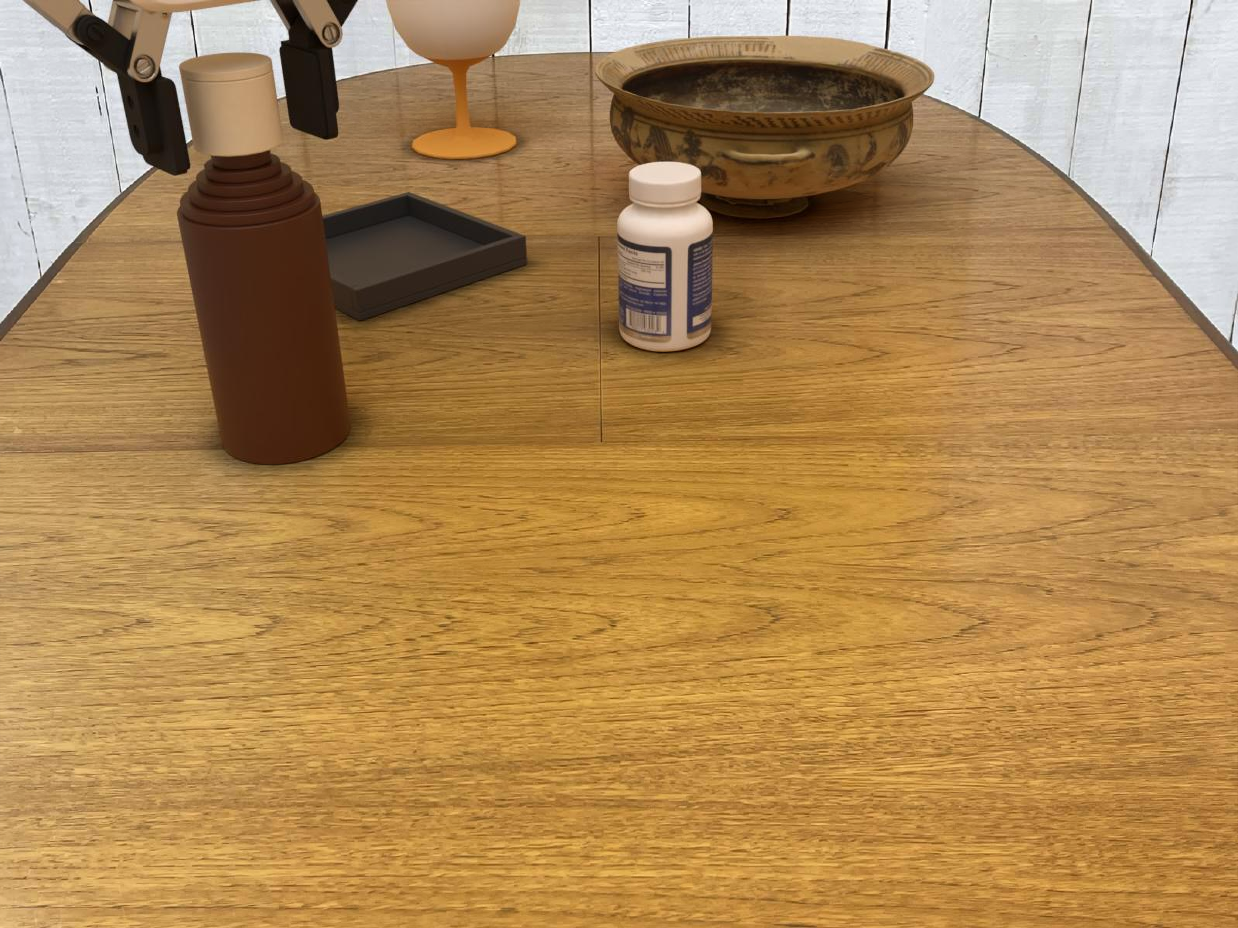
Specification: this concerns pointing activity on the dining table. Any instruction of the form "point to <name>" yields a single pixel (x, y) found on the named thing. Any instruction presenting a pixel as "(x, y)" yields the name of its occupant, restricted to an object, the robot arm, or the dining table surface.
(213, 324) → the sauce bottle
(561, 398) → the dining table surface
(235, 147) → the cap
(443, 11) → the cup
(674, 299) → the pill bottle
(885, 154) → the ceramic bowl
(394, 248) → the tray
